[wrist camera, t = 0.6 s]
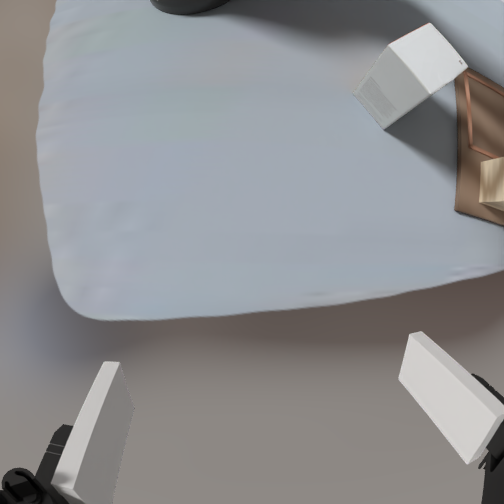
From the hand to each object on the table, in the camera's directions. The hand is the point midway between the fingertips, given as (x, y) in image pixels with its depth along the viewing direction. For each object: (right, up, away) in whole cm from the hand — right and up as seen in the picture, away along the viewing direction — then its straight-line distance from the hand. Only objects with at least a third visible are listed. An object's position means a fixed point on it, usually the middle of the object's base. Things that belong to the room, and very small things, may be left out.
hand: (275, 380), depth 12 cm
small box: (+17, +26, +21) cm, 37 cm away
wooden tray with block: (+36, +22, +21) cm, 47 cm away
